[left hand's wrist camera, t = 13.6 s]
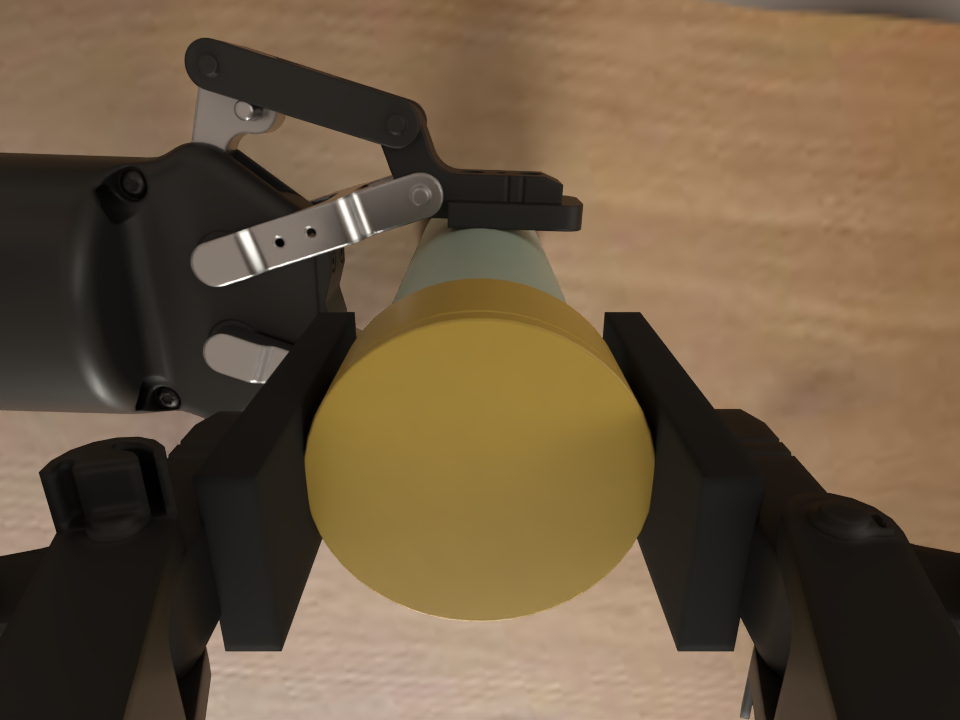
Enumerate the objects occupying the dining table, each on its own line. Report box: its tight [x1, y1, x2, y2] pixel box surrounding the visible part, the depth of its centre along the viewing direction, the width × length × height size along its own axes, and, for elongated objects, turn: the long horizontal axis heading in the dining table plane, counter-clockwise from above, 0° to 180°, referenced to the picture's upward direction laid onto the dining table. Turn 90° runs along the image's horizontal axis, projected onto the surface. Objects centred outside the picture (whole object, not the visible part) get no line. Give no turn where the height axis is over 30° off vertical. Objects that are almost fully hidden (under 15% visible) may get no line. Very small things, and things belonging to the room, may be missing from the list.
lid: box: [304, 278, 655, 622], centre depth 11 cm, size 5×5×2 cm
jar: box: [392, 218, 567, 304], centre depth 18 cm, size 5×5×16 cm
